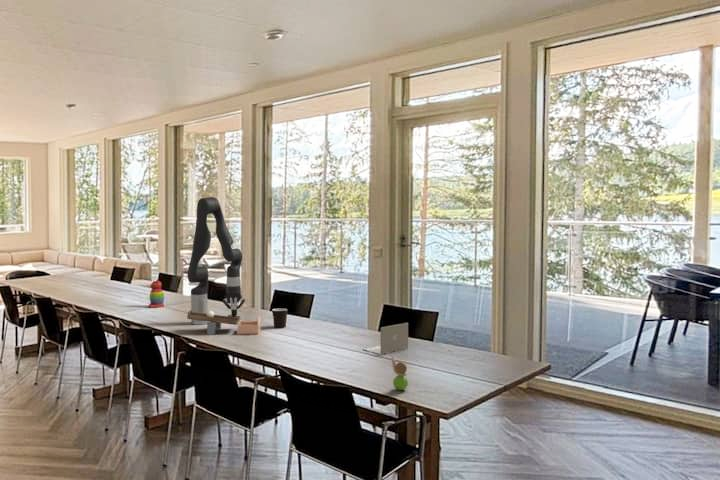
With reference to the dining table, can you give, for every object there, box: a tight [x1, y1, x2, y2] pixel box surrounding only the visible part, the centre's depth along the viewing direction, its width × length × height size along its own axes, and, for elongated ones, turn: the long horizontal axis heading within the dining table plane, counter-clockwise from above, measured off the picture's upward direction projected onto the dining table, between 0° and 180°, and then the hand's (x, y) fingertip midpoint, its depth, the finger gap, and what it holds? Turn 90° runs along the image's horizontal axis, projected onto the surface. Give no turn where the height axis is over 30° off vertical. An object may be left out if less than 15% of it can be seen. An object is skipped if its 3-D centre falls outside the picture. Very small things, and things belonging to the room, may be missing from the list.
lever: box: [186, 309, 241, 326], centre depth 315 cm, size 14×26×5 cm, turn 93°
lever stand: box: [206, 322, 222, 336], centre depth 316 cm, size 17×4×6 cm, turn 3°
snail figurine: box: [391, 356, 409, 391], centre depth 214 cm, size 5×6×12 cm
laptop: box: [364, 322, 409, 355], centre depth 275 cm, size 18×13×13 cm
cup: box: [236, 315, 262, 335], centre depth 313 cm, size 11×11×8 cm
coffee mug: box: [271, 307, 288, 329], centre depth 328 cm, size 12×9×10 cm
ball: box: [207, 310, 215, 317], centre depth 312 cm, size 4×4×4 cm
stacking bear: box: [148, 279, 165, 309], centre depth 395 cm, size 11×10×18 cm
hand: (234, 316), depth 320 cm, fingers closed
